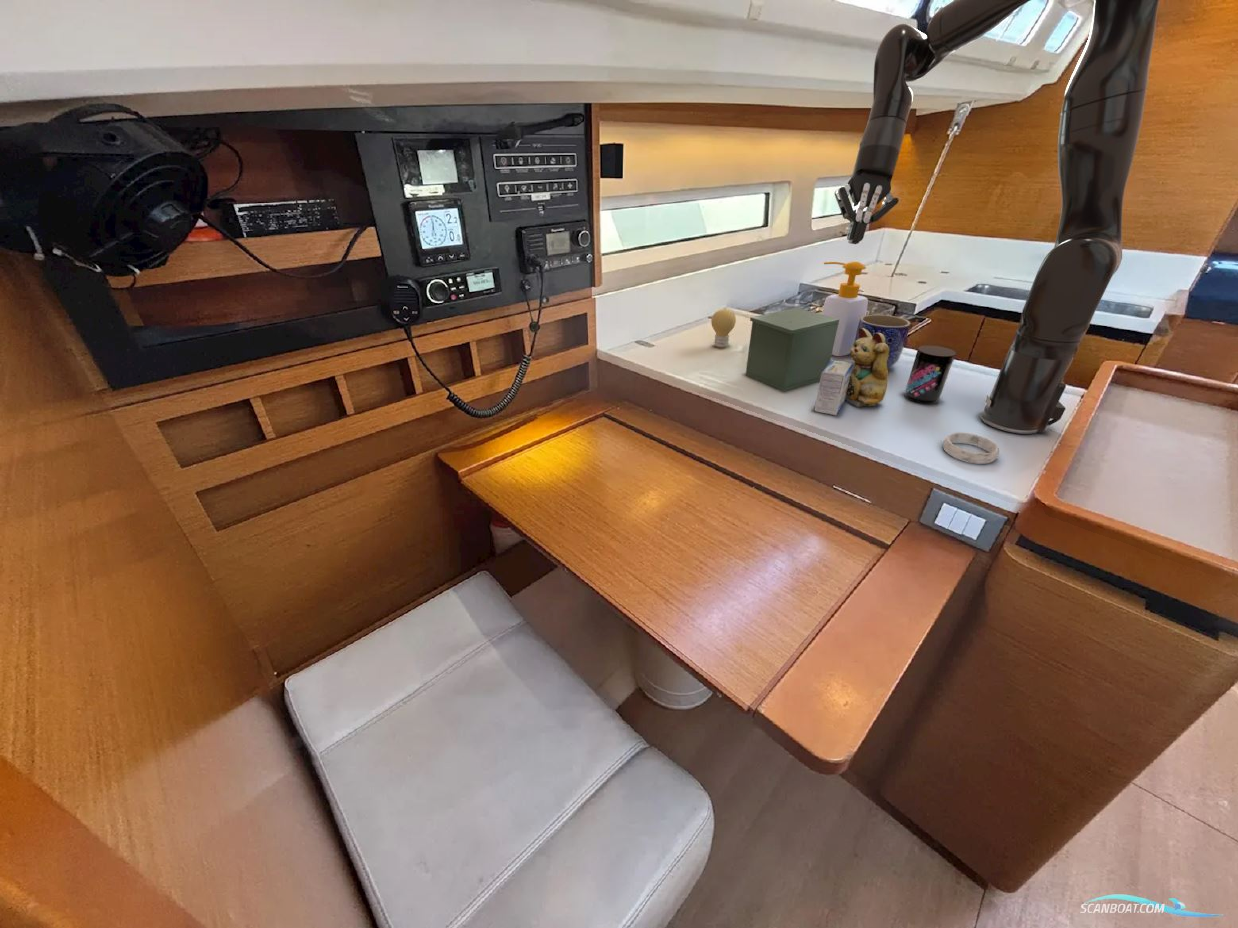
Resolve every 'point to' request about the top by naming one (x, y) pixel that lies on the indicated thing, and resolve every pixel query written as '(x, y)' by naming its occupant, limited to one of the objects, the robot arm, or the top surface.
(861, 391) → the decorative figurine
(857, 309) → the soap bottle
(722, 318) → the light bulb
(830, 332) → the tin
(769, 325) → the green square lid
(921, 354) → the supplement container
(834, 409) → the medicine box
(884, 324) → the planter
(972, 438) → the ring
